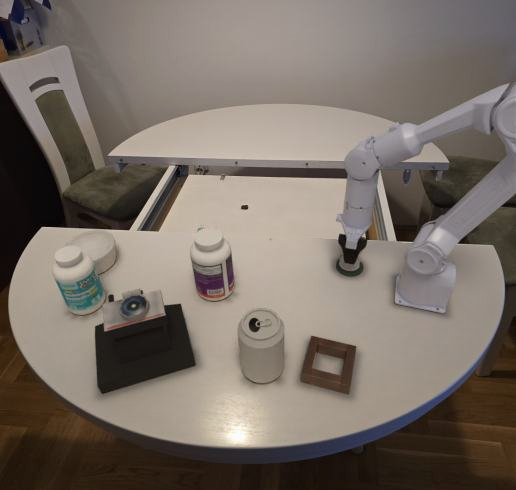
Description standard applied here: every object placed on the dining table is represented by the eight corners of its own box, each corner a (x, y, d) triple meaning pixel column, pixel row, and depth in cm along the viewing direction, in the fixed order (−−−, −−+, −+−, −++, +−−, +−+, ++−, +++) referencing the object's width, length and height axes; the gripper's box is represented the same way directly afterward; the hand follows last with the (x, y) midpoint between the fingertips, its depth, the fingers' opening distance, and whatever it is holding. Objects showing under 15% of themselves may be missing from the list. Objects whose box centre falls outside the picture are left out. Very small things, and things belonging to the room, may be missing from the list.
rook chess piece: (359, 273, 87) (364, 245, 82) (338, 271, 88) (342, 243, 83) (359, 260, 90) (364, 231, 85) (339, 257, 91) (342, 229, 86)
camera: (77, 351, 58) (76, 276, 68) (103, 396, 68) (99, 324, 78) (186, 321, 61) (169, 254, 72) (196, 368, 71) (180, 303, 82)
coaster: (364, 260, 91) (364, 259, 90) (361, 278, 86) (361, 277, 86) (337, 255, 92) (338, 254, 92) (333, 273, 88) (333, 272, 88)
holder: (354, 354, 72) (356, 345, 70) (348, 394, 66) (350, 386, 64) (310, 343, 74) (311, 335, 72) (300, 382, 68) (301, 373, 66)
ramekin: (92, 286, 87) (85, 268, 84) (59, 268, 92) (51, 251, 88) (130, 256, 94) (125, 239, 91) (98, 241, 99) (92, 224, 96)
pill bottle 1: (71, 322, 79) (47, 272, 71) (66, 297, 84) (43, 248, 76) (109, 308, 82) (91, 258, 73) (103, 285, 87) (84, 236, 79)
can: (240, 350, 73) (235, 305, 66) (281, 346, 73) (281, 301, 66) (242, 388, 67) (237, 343, 60) (286, 383, 67) (288, 339, 60)
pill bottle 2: (218, 270, 90) (211, 217, 81) (242, 288, 85) (238, 235, 76) (189, 289, 85) (178, 236, 76) (213, 309, 81) (205, 255, 72)
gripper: (344, 179, 85) (338, 230, 93) (332, 218, 74) (326, 272, 82) (378, 184, 83) (369, 235, 91) (371, 225, 72) (362, 279, 81)
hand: (351, 253), depth 87 cm, fingers open, 5 cm apart
